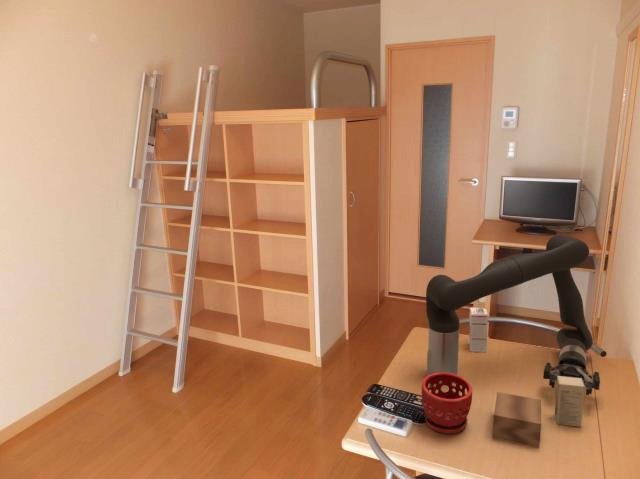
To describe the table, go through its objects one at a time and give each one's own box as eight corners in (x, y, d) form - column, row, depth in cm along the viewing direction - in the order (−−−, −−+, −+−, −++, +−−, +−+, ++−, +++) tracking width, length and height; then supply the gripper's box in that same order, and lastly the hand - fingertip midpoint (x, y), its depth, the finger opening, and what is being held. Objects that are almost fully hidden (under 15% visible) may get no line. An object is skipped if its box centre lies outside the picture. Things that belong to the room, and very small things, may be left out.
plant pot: (410, 422, 132) (411, 383, 129) (441, 403, 140) (443, 366, 137) (449, 446, 122) (451, 405, 119) (480, 425, 130) (482, 385, 127)
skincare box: (578, 418, 131) (583, 378, 128) (581, 427, 127) (586, 386, 124) (552, 414, 133) (556, 374, 130) (554, 423, 129) (558, 383, 126)
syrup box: (487, 352, 167) (489, 314, 164) (469, 351, 169) (470, 313, 165) (485, 345, 173) (486, 307, 169) (467, 344, 174) (469, 306, 170)
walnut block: (492, 438, 125) (494, 414, 123) (495, 414, 135) (497, 391, 133) (539, 448, 121) (541, 424, 119) (539, 422, 130) (541, 399, 129)
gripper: (547, 345, 149) (543, 370, 135) (600, 355, 142) (601, 382, 129) (545, 367, 151) (540, 394, 137) (598, 378, 144) (598, 407, 130)
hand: (570, 388), depth 133 cm, fingers open, 8 cm apart
